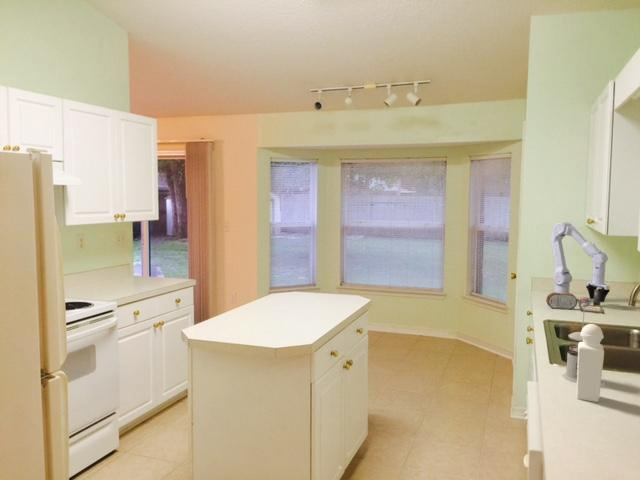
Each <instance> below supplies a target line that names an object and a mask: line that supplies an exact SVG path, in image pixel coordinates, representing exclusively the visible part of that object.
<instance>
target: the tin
mask: <svg viewBox="0 0 640 480" xmlns="http://www.w3.org/2000/svg"><path fill="white" fill-rule="evenodd" d="M545 302H546V304H547V306H548V307H550V308H552V309H555V310H573V309H574V308H576V307H577V305H578V298H577V297H576V295H574V294H573V293H570V292H569V293H556V292H555V291H554V292H551V293H549V294H548V295H547V297H546V300H545Z"/></svg>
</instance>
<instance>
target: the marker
mask: <svg viewBox="0 0 640 480" xmlns="http://www.w3.org/2000/svg"><path fill="white" fill-rule="evenodd" d="M592 307H601V302H600V300H599V291H598V289H596V290H594V299H593V305H592Z"/></svg>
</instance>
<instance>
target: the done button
mask: <svg viewBox="0 0 640 480" xmlns="http://www.w3.org/2000/svg"><path fill="white" fill-rule="evenodd" d="M579 299H581V301H587V302H588V300H590V297H586V296H585V297H584V296H580V297H579Z"/></svg>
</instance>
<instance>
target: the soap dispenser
mask: <svg viewBox="0 0 640 480" xmlns="http://www.w3.org/2000/svg"><path fill="white" fill-rule="evenodd" d="M582 327H583V329H581V331H580V332H581V333H580V335H581V337H582V339H583V342H580V341H578V344H577V346H578V354H577V356H578V367H577V383H576V398H577V399H578V400H583V401H588V402H594V403H599V402H600V394H601V393H600V392H601V387H602V386H601V384H602V377H603V368H604V367H603V366H604V359H605V358H604V357H605V351H604V346H603V344H601V341H602V340H603V339H604V334H603V331H602V328H601V326H599V325H597V324H595V323H588V324H586V325H583V326H582Z"/></svg>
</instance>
